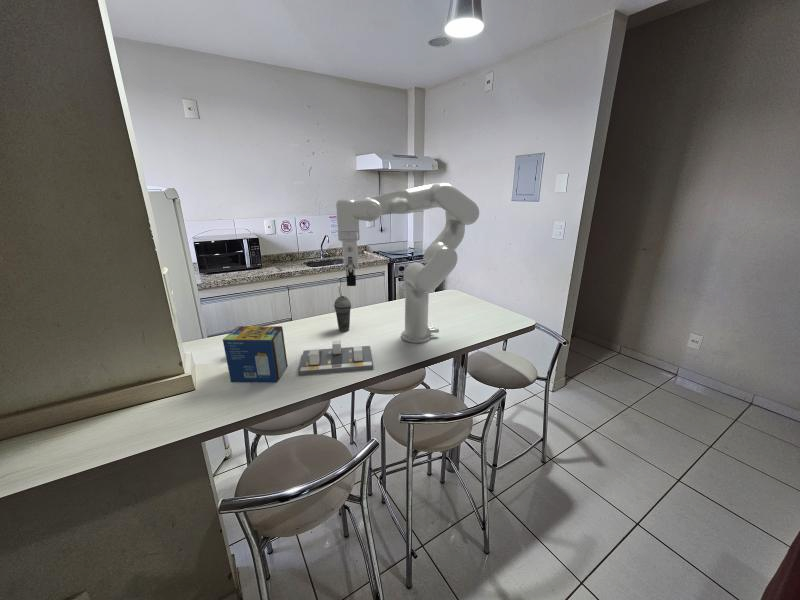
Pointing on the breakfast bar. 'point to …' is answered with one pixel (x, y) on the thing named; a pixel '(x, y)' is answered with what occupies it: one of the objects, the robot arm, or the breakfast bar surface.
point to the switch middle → (336, 347)
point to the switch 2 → (358, 354)
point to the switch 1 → (314, 357)
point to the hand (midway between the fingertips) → (351, 282)
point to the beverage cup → (343, 312)
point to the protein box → (255, 354)
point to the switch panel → (336, 361)
